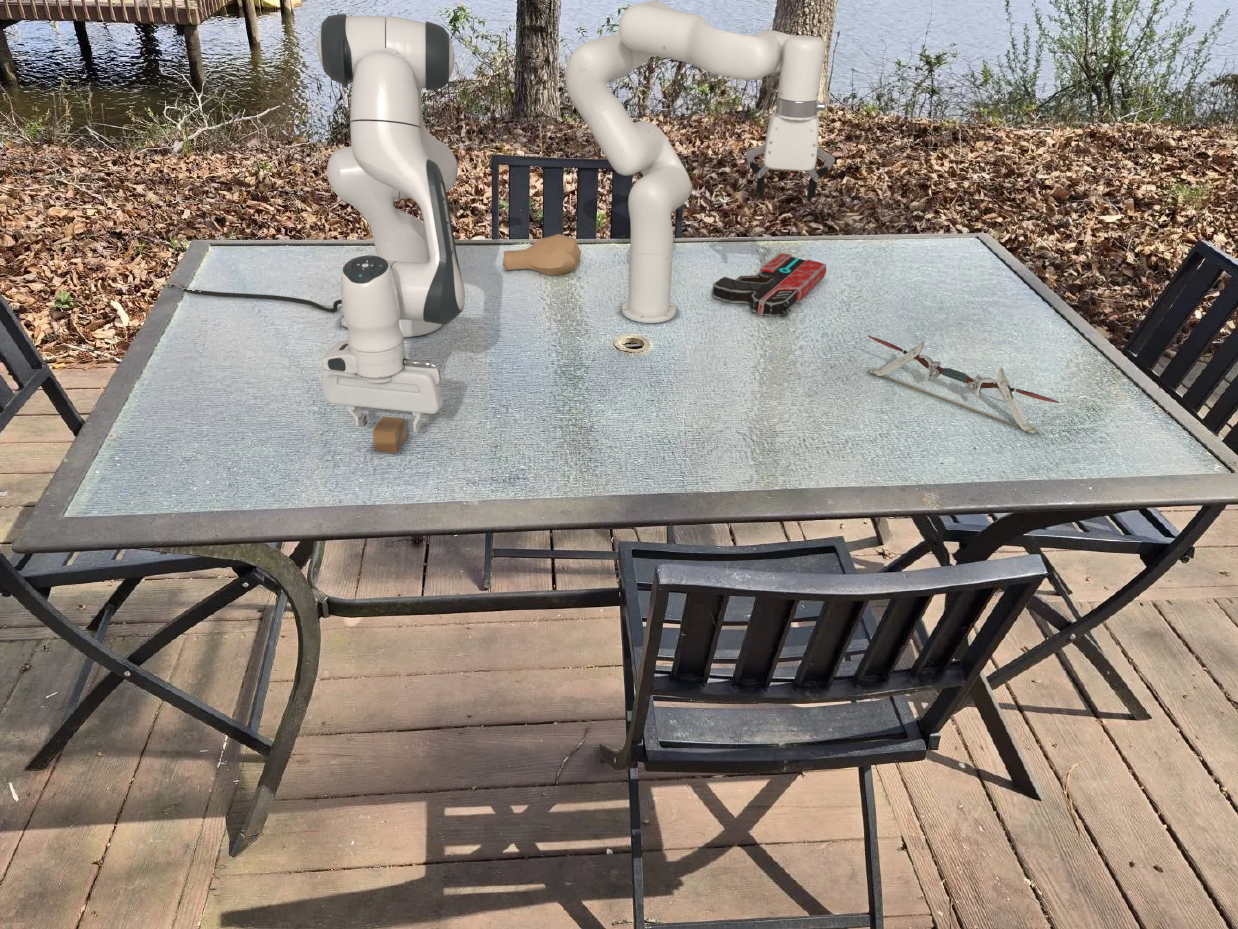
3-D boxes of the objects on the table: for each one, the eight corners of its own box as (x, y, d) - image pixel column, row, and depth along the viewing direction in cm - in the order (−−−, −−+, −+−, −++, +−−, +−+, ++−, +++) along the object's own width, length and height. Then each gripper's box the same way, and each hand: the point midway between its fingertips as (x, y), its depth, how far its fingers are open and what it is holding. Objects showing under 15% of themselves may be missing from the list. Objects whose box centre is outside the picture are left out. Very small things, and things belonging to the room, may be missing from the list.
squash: (582, 279, 220) (577, 247, 214) (504, 286, 221) (496, 255, 215) (583, 257, 228) (579, 225, 221) (508, 264, 229) (501, 233, 223)
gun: (708, 284, 207) (784, 305, 199) (760, 245, 229) (831, 262, 221) (706, 302, 209) (781, 323, 201) (758, 261, 231) (828, 278, 223)
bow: (1049, 436, 162) (1066, 388, 156) (1045, 439, 161) (1062, 391, 155) (863, 366, 183) (872, 322, 178) (859, 369, 182) (867, 325, 176)
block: (397, 453, 152) (394, 433, 150) (375, 450, 152) (372, 431, 150) (407, 437, 156) (404, 418, 154) (385, 435, 157) (383, 416, 154)
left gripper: (444, 353, 146) (451, 424, 154) (328, 342, 148) (340, 412, 156) (432, 371, 141) (440, 443, 149) (312, 359, 143) (325, 431, 151)
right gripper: (841, 106, 169) (827, 195, 178) (751, 101, 171) (742, 189, 180) (843, 114, 163) (829, 206, 172) (750, 109, 165) (741, 200, 174)
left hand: (388, 427), depth 153 cm, fingers open, 8 cm apart
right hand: (784, 197), depth 176 cm, fingers open, 9 cm apart
